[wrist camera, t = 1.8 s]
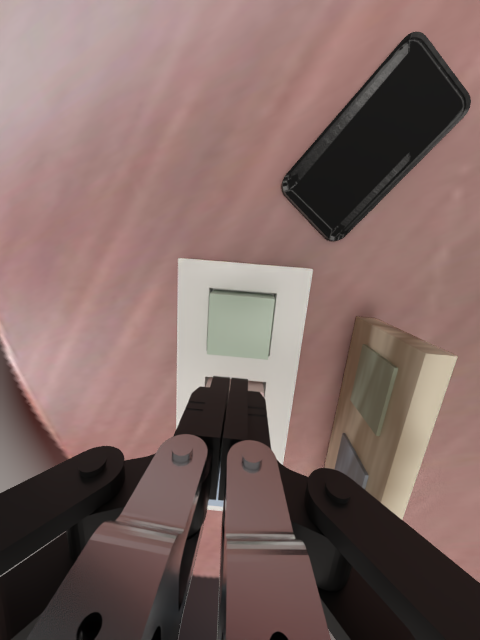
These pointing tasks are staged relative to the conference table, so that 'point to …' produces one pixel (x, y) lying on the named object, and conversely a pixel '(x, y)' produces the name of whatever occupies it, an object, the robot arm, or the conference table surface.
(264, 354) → the key sage
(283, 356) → the keypad
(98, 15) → the conference table surface
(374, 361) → the card
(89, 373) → the conference table surface
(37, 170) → the conference table surface
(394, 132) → the phone
